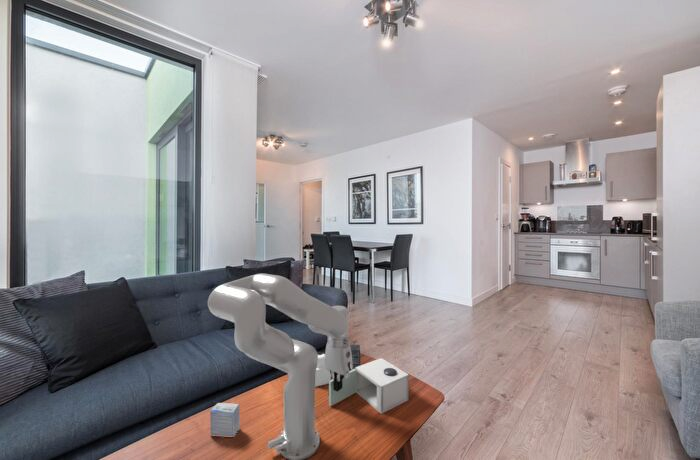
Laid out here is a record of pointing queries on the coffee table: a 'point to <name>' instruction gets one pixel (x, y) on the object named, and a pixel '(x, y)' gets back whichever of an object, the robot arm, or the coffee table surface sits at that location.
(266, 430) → the coffee table surface
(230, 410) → the medicine box
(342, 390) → the side door
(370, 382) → the white cabinet
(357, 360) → the small box
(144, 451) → the coffee table surface
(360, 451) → the coffee table surface
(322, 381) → the white square bottle
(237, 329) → the robot arm
